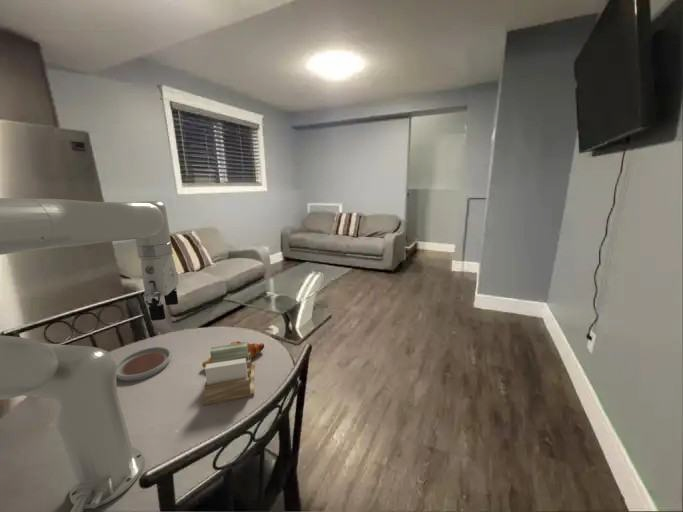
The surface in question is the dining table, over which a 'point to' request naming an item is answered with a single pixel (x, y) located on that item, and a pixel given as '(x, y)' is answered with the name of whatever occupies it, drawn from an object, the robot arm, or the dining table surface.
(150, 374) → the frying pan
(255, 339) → the dining table surface
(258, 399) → the dining table surface
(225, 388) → the rack
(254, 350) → the croissant
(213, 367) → the white rectangular slab
